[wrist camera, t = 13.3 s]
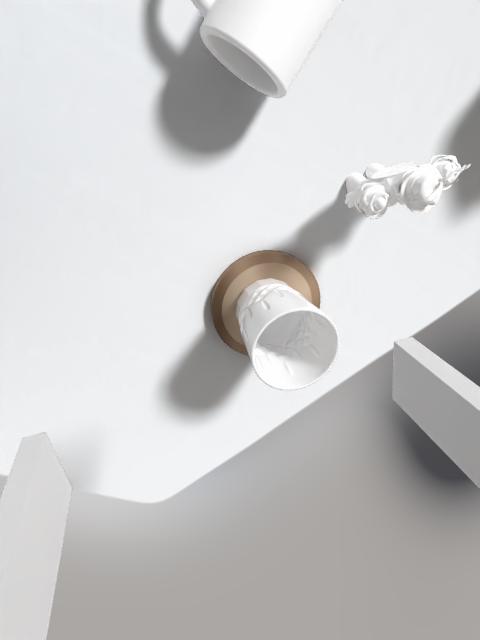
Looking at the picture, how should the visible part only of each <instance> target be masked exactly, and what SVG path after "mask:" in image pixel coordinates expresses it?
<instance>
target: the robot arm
mask: <svg viewBox="0 0 480 640" xmlns="http://www.w3.org/2000/svg"><path fill="white" fill-rule="evenodd" d="M392 398H393V400H394V401H395V402H396V403H397V404H398V405H399V406H400V407H401V408H402V409H403V410H404V411H405V412H406V413H407V414H408V415H409V416H410V417H411V418H412V419H413V420H414V421H415V422H416V423H417V424H418V425H419V426H420V427H421V428H422V429H423V431H424V432H425V433H427V435H428V436H429V437H430V438H431V439H432V440H433V441H434V442H435V443H436V444H437V445H438V446H439V447H440V448H441V449H442V450H443V451H444V452H445V453H446V454H447V455H448V456H449V457H450V458H451V459H452V460H453V461H454V462H455V464H457V466H458V467H459V468H461V470H462V471H463V472H464V473H465V474H466V475H467V476H468V477H469V478H470V479H471V480H472V481H473V482H474V483H475V484H476V485H477V486H478V487H479V488H480V387H479V386H477V385H476V384H475V383H473V382H472V381H470V380H469V379H468V378H466V377H465V376H464V375H462V374H461V373H460V372H458V371H457V370H456V369H454V368H453V367H452V366H450V365H449V364H447V363H446V362H445V361H443V360H442V359H441V358H439V357H438V356H437V355H435V354H434V353H432V352H431V351H430V350H429V349H427V348H426V347H424V346H423V345H422V344H420V343H419V342H418V341H416V340H415V339H414V338H412V337H411V338H407V339H403V340H399V341H395V342H394V360H393V389H392ZM71 493H72V486H71V484H70V482H69V480H68V478H67V476H66V473H65V471H64V469H63V467H62V465H61V463H60V461H59V458H58V456H57V454H56V452H55V450H54V448H53V446H52V444H51V441H50V439H49V437H48V435H47V433H46V432H44V433H40V434H36V435H32V436H28V437H24V438H23V439H22V441H21V444H20V447H19V449H18V452H17V455H16V458H15V460H14V463H13V466H12V469H11V471H10V474H9V477H8V480H7V482H6V485H5V488H4V491H3V493H2V496H1V499H0V640H46V636H47V630H48V625H49V619H50V613H51V608H52V602H53V596H54V591H55V585H56V578H57V573H58V568H59V562H60V556H61V550H62V545H63V538H64V533H65V527H66V522H67V516H68V510H69V504H70V499H71Z"/></svg>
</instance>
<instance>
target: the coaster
mask: <svg viewBox="0 0 480 640" xmlns="http://www.w3.org/2000/svg"><path fill="white" fill-rule="evenodd" d="M268 278H273V279H276V280H280V281H283V282H285V283H286V284H287V285H288V286H290V287H291V288H292V289H294V290H296V291H297V292H299V293H300V294H301V295H302V296H304V297H305V298H306V299H307V300H309V301H310V302H311V303H312V304H313V305H315V306H316V307H317V308H318V309H319V308H320V291H319V287H318V283H317V281H316V279H315V277H314V275H313V274H312V272H311V271H310V270H309V268H308V267H307V266H306V265H304V264H303V263H302V262H301V261H300V260H298V259H297V258H295V257H294V256H292V255H290V254H287V253H284V252H281V251H274V250H263V251H257V252H253V253H250V254H248V255H245V256H243V257H241V258H240V259H238V260H236V261H235V262H234V263H232V264H231V265H230V266H229V267H228V268H227V269H226V270H225V271H224V272H223V273H222V275H221V276H220V278H219V279H218V281H217V283H216V285H215V287H214V290H213V294H212V298H211V314H212V319H213V322H214V325H215V328H216V330H217V332H218V334H219V335H220V337H221V338H222V340H223V341H224V342H225V343H226V344H227V345H228V346H230V347H231V348H232V349H234V350H235V351H238V352H240V353H242V354H245V355H249V354H248V352H247V349H246V346H245V343H244V341H243V338H242V334H241V331H240V325H239V322H238V319H237V316H236V307H237V300H238V299H239V297H240V295H241V294H242V292H243V291H244V289H245V288H246V287H248V286H249V285H251V284H252V283H254V282H255V281H257V280H262V279H268Z"/></svg>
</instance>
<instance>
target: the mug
mask: <svg viewBox="0 0 480 640" xmlns="http://www.w3.org/2000/svg"><path fill="white" fill-rule="evenodd" d="M191 1H192V2H193V4H194V5H195V6H196V8H197V9H198V10H199V11H200V12H201V14H202V15H203V16H204V21H203V23H202V25H201V27H200V36H201V39H202V41H203V42H204V44H205V45H206V47H207V48H208V49H209V51H210V52H211V53H212V54H213V55H214V56H215V57H216V58H217V59H218V60H219V61H220V62H221V63H222V64H223V65H224V66H225V67H226V68H227V69H228V70H229V71H231V72H232V73H233V74H234V75H235V76H237V77H238V78H239V79H241V80H242V81H243V82H245V83H246V84H248V85H249V86H251V87H252V88H254V89H256V90H257V91H259V92H261V93H263V94H265V95H267V96H270V97H273V98H283V97H284V96H285V95H286V94H287V92H288V91H289V89H290V87H291V86H292V84H293V82H294V81H295V79H296V77H297V76H298V74H299V73H300V71H301V69H302V68H303V66H304V64H305V63H306V61H307V59H308V58H309V56H310V54H311V53H312V51H313V49H314V48H315V46H316V44H317V43H318V41H319V39H320V38H321V36H322V35H323V33H324V31H325V30H326V28H327V26H328V25H329V23H330V21H331V20H332V18H333V16H334V15H335V13H336V11H337V10H338V8H339V6H340V5H341V3H342V1H343V0H191Z"/></svg>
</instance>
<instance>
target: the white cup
mask: <svg viewBox="0 0 480 640" xmlns="http://www.w3.org/2000/svg"><path fill="white" fill-rule="evenodd" d="M236 316H237V319H238V322H239V325H240V331H241V334H242V338H243V341H244V343H245V346H246V349H247V352H248V354H249V357H250V360H251V363H252V366H253V368H254V371H255V373H256V374H257V376H258V377H259V378H260V379H261V380H262V381H263V382H264V383H265V384H267V385H269V386H271V387H273V388H276V389H280V390H297V389H301V388H304V387H307V386H309V385H311V384H313V383H315V382H317V381H318V380H319V379H321V378H322V377H323V376H324V375H325V374H326V373H327V372H328V371H329V370H330V368H331V367H332V366H333V364H334V362H335V360H336V358H337V355H338V352H339V345H340V340H339V334H338V330H337V328H336V326H335V324H334V323H333V321H332V320H331V319H330V318H329V317H328V316H326V315H325V314H324V313H323V312H322V311H320V310H319V309H318V308H317V307H316V306H315V305H313V304H312V303H311V302H310V301H309V300H307V299H306V298H305V297H304V296H302V295H301V294H300V293H299V292H297V291H296V290H294V289H292V288H291V287H290V286H288V285H287V284H286V283H285V282H283V281H280V280H276V279H273V278H268V279H262V280H257V281H255V282H254V283H252V284H251V285H249V286H248V287H246V288H245V289H244V291H243V292H242V294H241V295H240V297H239V299H238V300H237V307H236Z"/></svg>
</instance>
